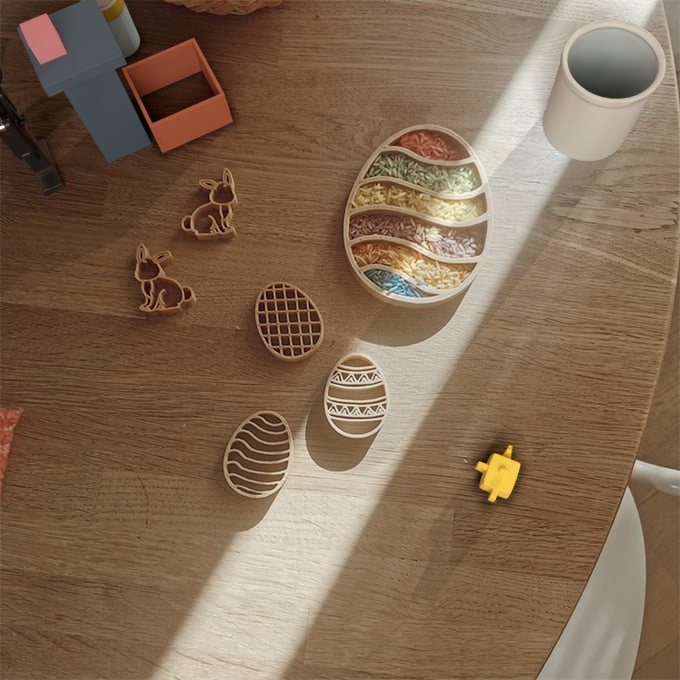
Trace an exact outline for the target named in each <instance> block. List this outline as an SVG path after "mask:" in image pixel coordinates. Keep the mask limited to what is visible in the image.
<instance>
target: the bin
mask: <svg viewBox="0 0 680 680" xmlns="http://www.w3.org/2000/svg"><path fill="white" fill-rule="evenodd" d="M121 71H122V73H123V75H124V77H125V79H126V81H127V83H128V86H129V88H130V90H131V91H132V94H133V95H134V96H133V97H134V98H135V100H136V102H137V104H138V106H139V108H140V110H141V112H142V115H143V116H144V118H145V120H146V122H147V124H148V126H149V128H150V131H151V133H152V134H153V137H154V139H155V141H156V143H157V145H158V147H159V149H160V151H161V153H162V154H165V153H166V152H169V151H171V150H173V149H175V148H177V147H180V146H182V145H185V144H187V143H188V142H191V141H193V140H196V139H198V138H201V137H202V136H205V135H208V134H209V133H211V132H214V131H216V130H218V129H221V128H223V127H224V126H225V127H226V126H228V125H230V124H231V123H232V124H233V122H234V120H233V117H232V114H231V110H230V107H229V103H228V101H227V98H226V94H225V93H224V91H223V88H222V86H221V85H220V83H219V82H218V79H217V78H216V76H215V74H214V72H213V71H212V68H211V66H210V65H209V62H208V61H207V60H206V57H205V56H204V54H203V52H202V50H201V48H200V46H199V45H198V43H197V41H196V39H195V38H194V37H192V38H190V39H188V40H185V41H183V42H181V43H178V44H176V45H173V46H171V47H169V48H167V49H164V50H162V51H159V52H158V53H154V54H153V55H150V56H148V57H146V58H143V59H141V60H138V61H136V62H134V63H131V64H129V65H127V66H125V67H121ZM199 72H202V74H203V75H204V77H205V80H206V81H207V83H208V85H209V87H210V88H211V90H212V93H213V95H214V96H212V97H209V98H206V99H205V100H202V101H199V102H198V103H196V104H193V105H191V106H189V107H187V108H184V109H182V110H180V111H178V112H175V113H173V114H171V115H168V116H166V117H164V118H161V119H159V120H157V121H154V122H153V121H152V119H151V117H150V116H149V114H148V112H147V110H146V108H145V106H144V103H143V101H142V99H141V98H142V97H144V96H146V95H148V94H151V93H153V92H156V91H158V90H160V89H163V88H165V87H167V86H169V85H172V84H175V83H177V82H178V81H182V80H183V79H185V78H186V79H187V78H188V77H190V76H193V75H194V74H197V73H199Z"/></svg>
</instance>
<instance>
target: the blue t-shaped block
mask: <svg viewBox="0 0 680 680" xmlns="http://www.w3.org/2000/svg"><path fill="white" fill-rule="evenodd" d="M47 15H48V17H49V19H50V21H51V22H52V24H53V26H54V28H55V29H56V31H57V33H58V35H59V37H60V39H61V41H62V44H63V46H64V48H65V50H66V52H67V54H65V55H63V56H60V57H58V58H56V59H53V60H51V61H48V62H46V63H44V64H40V63H39V61H38V60H37V58H36V57H35V55H34V53H33V52H32V50H31V49H30V47H29V46H28V44H27V41H26V39H25V37H24V34H23V32H22V30H21V27H20V26H18V27H17V28H16V30H17V32H18V34H19V36H20V37H19V38H20V39H21V41H22V43H23V46H24V48H25V50H26V53H27V55H28V58H29V60H30V62H31V65H32V67H33V69H34V71H35V73H36V76H37V78H38V80H39V83H40V85H41V87H42V89H43V91H44V92H45V94H46V95H47V97H48V98H51V97H53V96H56V95H58V94H61V93H62V92H63V93H64V95H65V96H66V98H67V100H68V101H69V103H70V104H71V106H72V107H73V109H74V110H75V112H76V114H77V115H78V117H79V118H80V120H81V122H82V123H83V125H84V126H85V128H86V130H87V131H88V133H89V135H90V137H91V138H92V140H93V141H94V143H95V144H96V146H97V148H98V149H99V151H100V152H101V154H102V155H103V157H104V159H105V160H106V162H107V163H108V164H110V163H112V162H114V161H116V160H120V159H121V158H124V157H126V156H128V155H131V154H132V153H135V152H137V151H139V150H141V149H144V148H147V147H148V146H151V145H152V141H151V139H150V137H149V135H148V133H147V131H146V129H145V127H144V124H143V123H142V120H141V118H140V117H139V114H138V113H137V111H136V108H135V106H134V104H133V102H132V100H131V99H130V96H129V95H128V93H127V90H126V88H125V87H124V84H123V82H122V80H121V78H120V76H119V74H118V72H117V69H119V68H122V67H124V66H126V65H127V64H128V63H127V60H126V58H124V56H123V54H122V52H121V50H120V48H119V46H118V44H117V42H116V40H115V38H114V36H113V34H112V32H111V30H110V28H109V26H108V24H107V22H106V20H105V18H104V16H103V14H102V12H101V10H100V8H99V5H98V3H97V1H96V0H84V1H79V2H77V3H74V4H72V5H69V6H67V7H65V8H62V9H60V10H57V11H55V12H53V13H50V14H47Z"/></svg>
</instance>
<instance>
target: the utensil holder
mask: <svg viewBox="0 0 680 680" xmlns="http://www.w3.org/2000/svg"><path fill="white" fill-rule="evenodd" d="M666 60H667V59H666V55H665V52H664V49H663V47H662V45H661V44H660V42H659V41H658V40H657V38H656V37H655V35H653V34H652V33H650V32H649V31H648V30H647V29H645V28H644V27H642V26H639V24H636V23H633V22H630V21H627V20H623V19H614V18H613V19H612V18H611V19H599V20H595V21H592V22H589V23H586V24H585V25H582V26H581V27H579V28H577V29H576V30H575V31H573V32H572V34H571V35H570V36H569V37H568V38H567V39H566V41H565V43H564V45H563V47H562V51H561V55H560V59H559V65H558V69H557V72H556V75H555V78H554V81H553V85H552V87H551V91H550V94H549V97H548V100H547V104H546V107H545V112H544V115H543V120H542V128H543V133H544V136H545V138H546V140H547V141H548V143H549V145H551V147H552V148H553V149H554V150H556V151H557V152H558V153H560V154H561V155H562V156H565V157H567V158H570V159H573V160H576V161H580V162H595V161H601V160H603V159H606V158H608V157H610V156H612V155H613V154H615V153H616V152H618V151H619V149H620V148H621V147H622V145H623V144H624V143H625V141H626V139H627V137H628V136H629V135H630V133H631V131H632V130H633V128H634V126H635V125H636V123H637V121H638V120H639V118H640V116H641V114H642V113H643V111H644V109H645V107H646V106H647V104H648V102H649V100H650V98H651V97H652V95H654V93H655V92H656V91H657V89H658V88H659V87H660V85H661V83H662V81H663V79H664V77H665V74H666V70H667V61H666Z"/></svg>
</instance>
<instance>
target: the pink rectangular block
mask: <svg viewBox="0 0 680 680" xmlns="http://www.w3.org/2000/svg"><path fill="white" fill-rule="evenodd" d="M48 15H49V14H47V13H43V14H40V15H38V16H35V17H33V18H31V19H29V20H25V21H24V22H22V23H19V27H21V30H22V32H23V34H24V37H25V39H26V41H27V44H28V46H29V47H30V49H31V50H32V52H33V53H34V55H35V57H36V58H37V60H38V61H39V63H40V64H44V63H46V62H48V61H51V60H53V59H56V58H58V57H60V56H63V55H65V54H67V52H66V50H65V48H64V46H63V44H62V41H61V39H60V37H59V35H58V33H57V31H56V29H55V28H54V26H53V24H52V22H51V21H50V19H49V17H48Z"/></svg>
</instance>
